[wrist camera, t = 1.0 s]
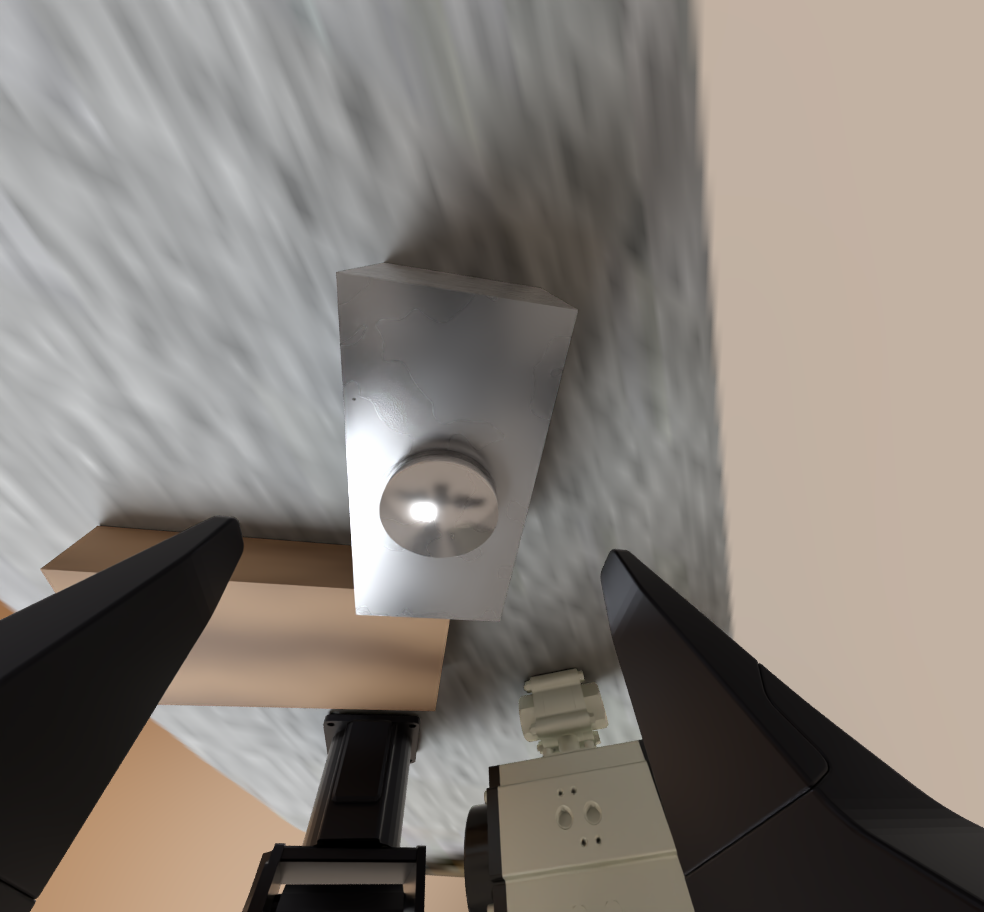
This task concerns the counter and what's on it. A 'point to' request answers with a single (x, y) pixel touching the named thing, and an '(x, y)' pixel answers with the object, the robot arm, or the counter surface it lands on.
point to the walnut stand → (285, 630)
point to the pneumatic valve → (572, 817)
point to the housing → (443, 432)
